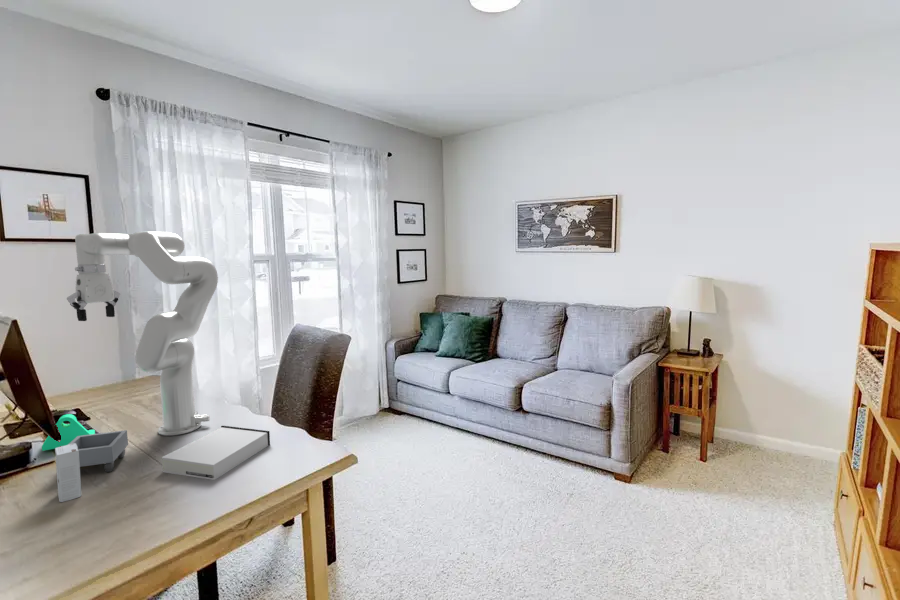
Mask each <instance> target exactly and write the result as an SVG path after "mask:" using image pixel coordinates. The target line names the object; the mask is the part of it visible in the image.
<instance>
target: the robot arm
mask: <svg viewBox="0 0 900 600" xmlns="http://www.w3.org/2000/svg"><path fill="white" fill-rule="evenodd" d="M74 239H75V240H74V241H75V252H76V261H77V262H76V263H77V266H75V267H74V270H75V272H78V273H77V274H76V277H75V292H74V293H73V294H71V295H69V296H67V297H66V300H67V301H68V303H69V305H70V306H71V307H72V308H74V310H76V318H77V320H78V322H87V319H88V318H87V310H86V309H85V308H86V306H87V304H96V303H104V304H105V316H106V317H107V318H115V316H116V315H115V314H116V313H115V312H116V311H115V306H116V304H117V302H118V301H119V299H120V296H121V293H120V292H119V291H116V290H115V289H114V287H113V283H112V280H111V276H110V274H109V273H107V269H106V268H107V267H106V256H135V257H137V258H138V259H139V260H140V261H141V262H142V263H143V264H144V265H145V266H146V267H147V269H148V270H150V272H151V273H152V274H153V275H154V276H155V278H157V279H158V280H159V281H160V282H161V283H164V284H166V285H179V284H180V285H182V284H189V285H188V286H187V287H186V289H184V291H183V292H182V293H181V294H180V296H179V298H178V300H177V304H176V305H175V308H174V309H173V310H171V311H168V312H161V313H156V314H155V315H153V316H151V318H150V319H149V320H147V322H146V324H145V326H144V328H143V332H142V335H141V337H140V340H139V342H138V345H137V347H136V352H135V358H134V359H135V364H136V366H137V367H138V369H139V370H140V371H142V372H144V373H155V372H159V371H160V372H161V373H160V377H159V378H160V379H159V387H160V388H159V391H160V399H161V401H160V403H161V413H162V425H160V426H159V427H158V429H157V430H158V431H157V432H158V434H159V435H161V436H170V437H171V436H179V435H185V434H187V433H191V432H193V431H195V430H198V429H199V428H200V427H201V425H202V422H203V423H204V422H210V420H211V418H210V415H208V414H206V413H205V414H201V415H200V414H198V410H197V411H196V406H195V405H196V403H195V394H194V393H195V391H194V377H193V367H194V366H193V365H194V358H195V347H194V344H193V342H192V341H191V340H190V339H189V338H192V337H194V336H195V335H196V334H197V333H198V332H199V329H200V326H201V324H202V321H203V318H204V316H205V315H206V314H205V313H206V311H207V310H208V306H209V303H210V301H211V300H212V298H213V296H214V294H215V292H216V290H217V286H218V283H219V277H218V271H217V269H216V267H215V265H214V263H213V262H212V261H211V260H209V259H207V258H205V257H200V256H180V255H181V254H182V253H183V252H184V250H185V241H184V239H183V238H182V237H181V236H179V235H178V234H176V233H172V232H169V231H151V230H150V231H149V230H148V231H137V232H134V233H117V232H114V233H113V232H95V233H82V234H77V235H75V238H74ZM75 299H76V300H75Z"/></svg>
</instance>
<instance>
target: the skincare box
mask: <svg viewBox="0 0 900 600" xmlns="http://www.w3.org/2000/svg"><path fill="white" fill-rule="evenodd" d="M54 452H55V468H56V481H57V494H58V495H57V496H58V500H59V502H60V503H64V502H68V501H71V500H74V499H77V498H80V497H82V495H83V494H82V484H81V483H82V482H81V467H80V463H79V451H78V447H77V445H76V443H74V444H69V445H65V446H61V447H57V448H55V449H54Z"/></svg>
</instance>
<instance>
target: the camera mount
mask: <svg viewBox="0 0 900 600" xmlns="http://www.w3.org/2000/svg"><path fill="white" fill-rule="evenodd" d="M64 422H69V423H68V424H67V423H64ZM55 423H56V424H55V425H57V427H58V430H59V432H60V435H61V441H60V442H58V441H56V440H54V439H53V438H51V437H50V436H49V435H48V436H47V437H46V438H45V440H44V442H43V444H42V445H41V451H42V452H44V451H50V450H55V448H57V447H60V446H65V445H68V444H69V443H70V442H71V441H73V440H74V439H75V438H76V437H77V436H82V435H90V434H96V430H95V429H89V430H88V429H86V428H85V427H84V426H83V425H82V423H80V421H78V419H77V417H76V415H74V414H72V413H66V414H63V415H61V416H60V417H59V419H58V421H57V422H55Z"/></svg>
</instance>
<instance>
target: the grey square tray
mask: <svg viewBox="0 0 900 600" xmlns="http://www.w3.org/2000/svg"><path fill="white" fill-rule="evenodd" d="M74 443H76V445H77V447H78V451H79V463H80V468H81V467H88V466H95V465H102V464H103V465H104V471H105V473H110V472H113V471H114V467H115V460H117V459H120V458H122V459H123V458H124V457H125V454H126V448H127V447H128V446H129V439H128V430H127V429H124V430H116V431H108V432H99V433H95V434H90V435H82V436H77V437H76V438H75V439H74V440H73V441H71V442H70V443H69V444H74ZM69 444H68V445H69Z"/></svg>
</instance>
